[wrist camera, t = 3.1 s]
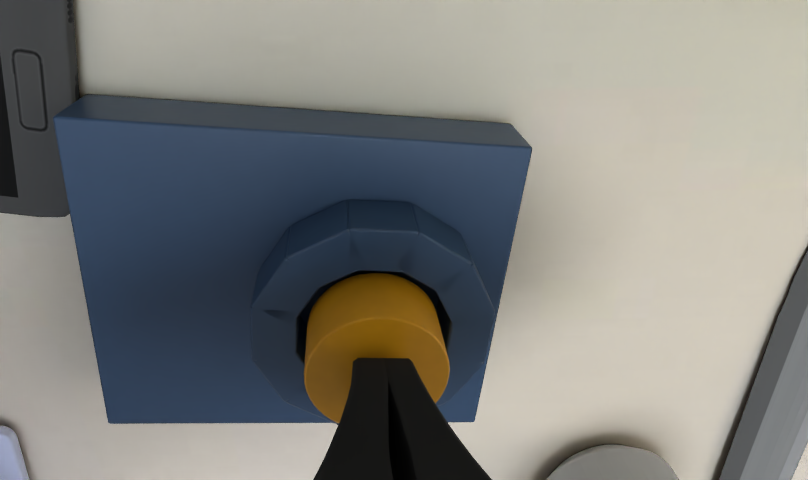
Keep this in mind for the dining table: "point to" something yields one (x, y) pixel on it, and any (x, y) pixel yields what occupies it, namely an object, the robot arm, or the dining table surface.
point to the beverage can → (614, 465)
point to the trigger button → (371, 336)
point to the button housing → (274, 243)
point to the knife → (777, 398)
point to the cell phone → (34, 103)
